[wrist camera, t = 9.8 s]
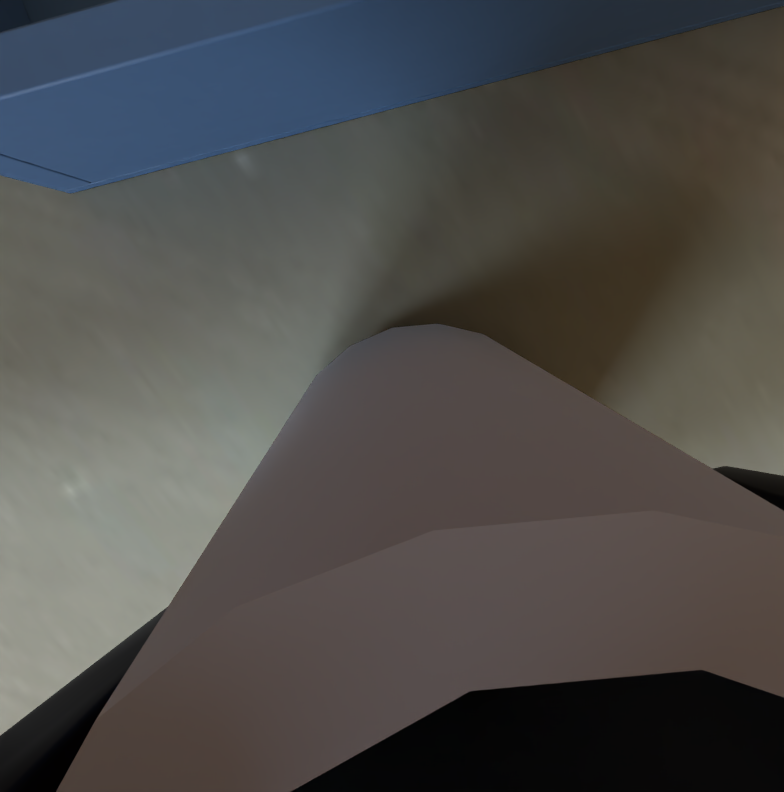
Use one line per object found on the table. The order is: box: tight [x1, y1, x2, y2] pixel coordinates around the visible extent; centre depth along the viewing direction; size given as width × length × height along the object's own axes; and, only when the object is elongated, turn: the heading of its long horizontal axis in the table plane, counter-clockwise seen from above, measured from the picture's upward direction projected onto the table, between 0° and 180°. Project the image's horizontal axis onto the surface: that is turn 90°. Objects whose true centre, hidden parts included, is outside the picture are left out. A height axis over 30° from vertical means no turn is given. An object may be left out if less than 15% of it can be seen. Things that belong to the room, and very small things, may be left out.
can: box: [56, 324, 784, 792], centre depth 8 cm, size 8×8×12 cm
